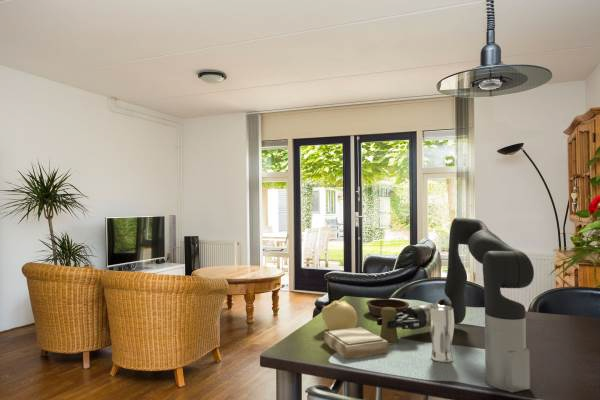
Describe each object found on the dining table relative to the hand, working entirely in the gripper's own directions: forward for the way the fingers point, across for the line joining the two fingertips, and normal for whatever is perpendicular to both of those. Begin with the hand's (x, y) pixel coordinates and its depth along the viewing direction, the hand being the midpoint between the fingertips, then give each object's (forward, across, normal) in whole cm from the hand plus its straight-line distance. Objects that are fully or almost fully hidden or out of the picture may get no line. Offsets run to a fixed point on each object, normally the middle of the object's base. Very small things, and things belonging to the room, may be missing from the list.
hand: (382, 323), depth 139 cm
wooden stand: (+11, 0, +6) cm, 13 cm away
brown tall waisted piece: (-3, 0, +6) cm, 7 cm away
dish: (-27, -26, +6) cm, 38 cm away
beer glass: (-4, +20, +6) cm, 22 cm away
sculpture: (+4, -18, +6) cm, 19 cm away
